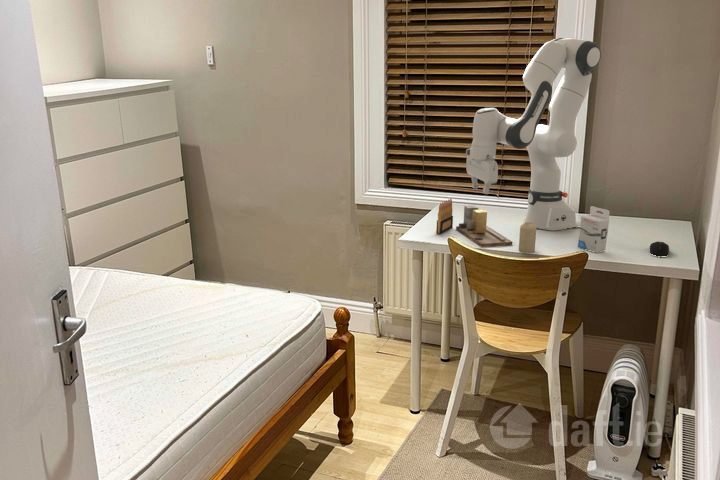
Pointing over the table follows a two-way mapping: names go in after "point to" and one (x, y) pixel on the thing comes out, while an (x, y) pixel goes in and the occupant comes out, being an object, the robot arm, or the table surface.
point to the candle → (527, 237)
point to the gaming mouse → (659, 249)
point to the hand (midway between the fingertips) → (480, 190)
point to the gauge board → (481, 238)
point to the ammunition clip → (445, 217)
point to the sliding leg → (478, 221)
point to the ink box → (594, 230)
